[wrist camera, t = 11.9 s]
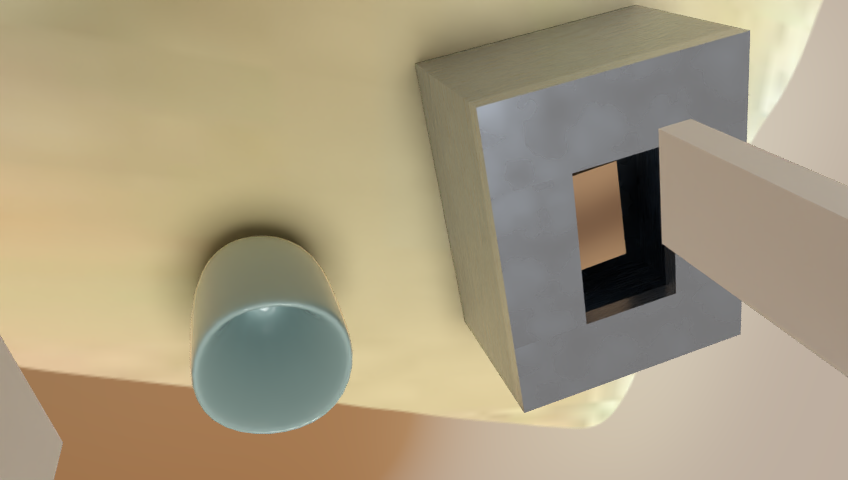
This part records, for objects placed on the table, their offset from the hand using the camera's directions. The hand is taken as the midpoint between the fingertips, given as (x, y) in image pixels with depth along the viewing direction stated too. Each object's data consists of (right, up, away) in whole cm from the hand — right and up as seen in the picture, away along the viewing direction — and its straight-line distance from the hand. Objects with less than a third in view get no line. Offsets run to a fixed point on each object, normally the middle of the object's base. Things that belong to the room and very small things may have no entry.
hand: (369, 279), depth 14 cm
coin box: (+9, +5, +31) cm, 33 cm away
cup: (-9, -1, +29) cm, 30 cm away
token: (+9, +5, +31) cm, 33 cm away
